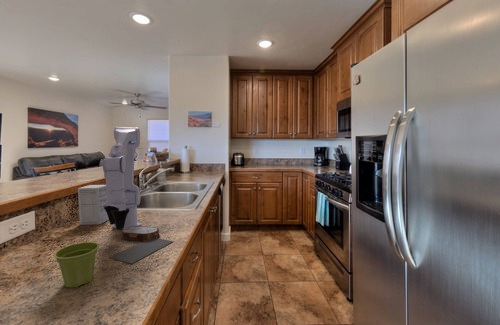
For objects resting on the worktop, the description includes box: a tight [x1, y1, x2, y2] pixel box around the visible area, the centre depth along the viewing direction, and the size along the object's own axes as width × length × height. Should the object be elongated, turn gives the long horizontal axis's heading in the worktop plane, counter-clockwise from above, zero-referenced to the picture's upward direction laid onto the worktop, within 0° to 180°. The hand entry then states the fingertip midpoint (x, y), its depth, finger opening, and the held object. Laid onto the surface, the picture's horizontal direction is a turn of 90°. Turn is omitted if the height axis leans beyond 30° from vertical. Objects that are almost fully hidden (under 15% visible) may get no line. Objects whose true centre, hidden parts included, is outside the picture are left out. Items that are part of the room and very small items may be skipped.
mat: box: [108, 237, 174, 265], centre depth 82 cm, size 10×18×1 cm, turn 157°
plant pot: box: [53, 241, 100, 289], centre depth 62 cm, size 9×9×9 cm
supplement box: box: [77, 184, 109, 226], centre depth 112 cm, size 10×9×17 cm
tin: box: [120, 225, 160, 242], centre depth 94 cm, size 15×3×8 cm
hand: (116, 226), depth 88 cm, fingers open, 7 cm apart
